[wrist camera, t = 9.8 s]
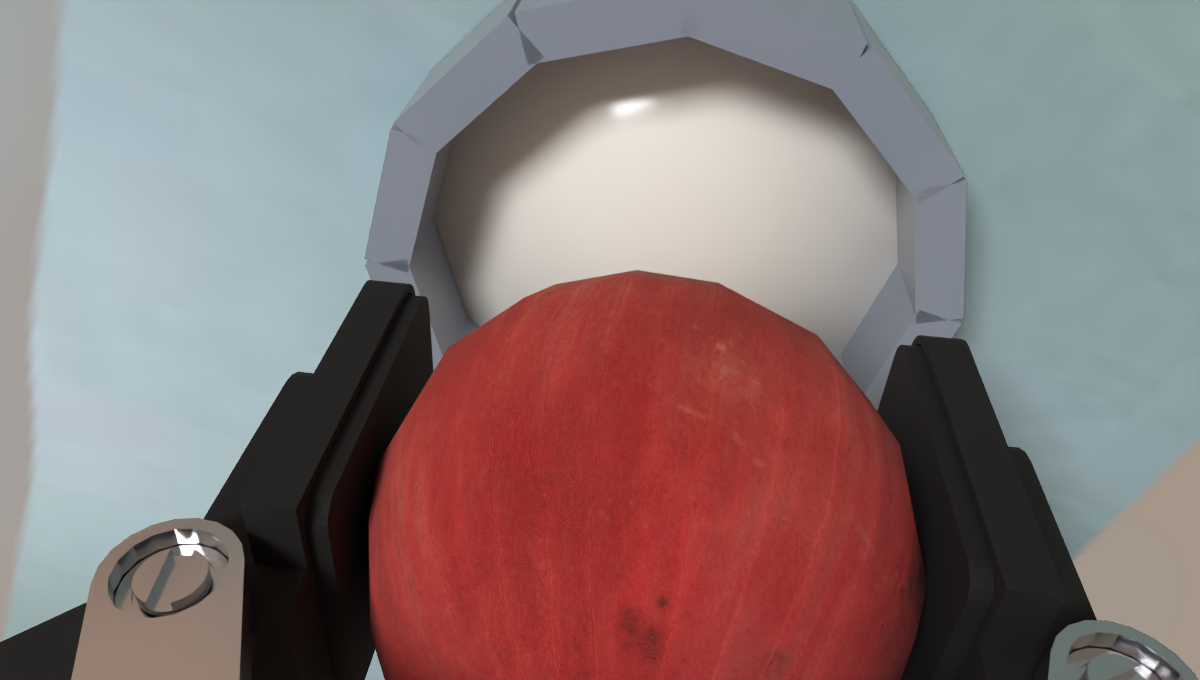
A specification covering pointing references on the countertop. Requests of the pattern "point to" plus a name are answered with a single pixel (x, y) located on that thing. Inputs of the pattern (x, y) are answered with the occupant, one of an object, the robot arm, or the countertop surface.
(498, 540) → the onion
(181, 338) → the countertop surface
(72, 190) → the countertop surface
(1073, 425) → the countertop surface
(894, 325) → the gray dish
